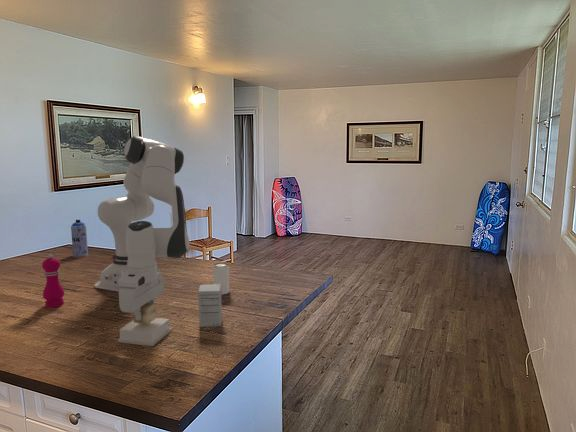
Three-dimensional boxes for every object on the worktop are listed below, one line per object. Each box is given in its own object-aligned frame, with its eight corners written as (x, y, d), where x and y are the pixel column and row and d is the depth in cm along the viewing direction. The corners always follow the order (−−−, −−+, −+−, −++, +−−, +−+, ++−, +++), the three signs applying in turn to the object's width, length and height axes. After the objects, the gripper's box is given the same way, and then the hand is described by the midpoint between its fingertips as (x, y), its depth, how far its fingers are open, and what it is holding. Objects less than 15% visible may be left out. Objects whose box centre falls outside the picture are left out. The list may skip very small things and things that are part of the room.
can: (226, 295, 178) (225, 267, 176) (211, 294, 179) (210, 266, 177) (231, 290, 184) (231, 263, 182) (217, 289, 185) (216, 262, 183)
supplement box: (201, 318, 154) (200, 284, 152) (222, 318, 155) (221, 283, 153) (198, 327, 147) (197, 291, 145) (221, 326, 148) (220, 290, 146)
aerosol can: (69, 256, 240) (66, 220, 237) (78, 253, 248) (76, 218, 245) (82, 257, 239) (80, 221, 236) (91, 253, 247) (88, 218, 244)
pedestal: (117, 342, 136) (117, 330, 135) (139, 326, 147) (138, 315, 147) (152, 346, 133) (152, 333, 132) (171, 330, 145) (171, 318, 144)
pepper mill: (43, 309, 163) (38, 257, 160) (44, 303, 169) (39, 253, 166) (65, 306, 166) (61, 255, 163) (65, 300, 172) (61, 251, 169)
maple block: (133, 322, 138) (132, 307, 137) (142, 316, 142) (141, 302, 142) (147, 324, 136) (147, 308, 136) (156, 318, 141) (155, 303, 140)
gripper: (150, 264, 148) (152, 303, 150) (113, 282, 128) (116, 327, 130) (167, 265, 146) (169, 304, 148) (133, 284, 126) (135, 329, 129)
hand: (144, 315), depth 139 cm, fingers closed on maple block, 5 cm apart
